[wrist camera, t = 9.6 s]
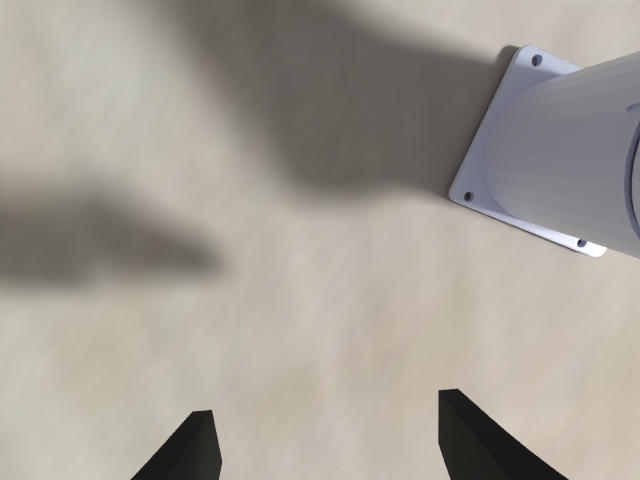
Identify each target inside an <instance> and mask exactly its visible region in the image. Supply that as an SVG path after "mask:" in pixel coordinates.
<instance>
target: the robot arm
mask: <svg viewBox="0 0 640 480" xmlns="http://www.w3.org/2000/svg"><path fill="white" fill-rule="evenodd" d="M533 57H535V58H536V59H537V65H536V66H534V65H532V62H531V61H532V58H533ZM467 192H470V194H471V196H470V199H469V200H467V201H465V199H464V195H465V194H466V193H467ZM449 197H450V199H451V200H452V201H454V202H457V203H459V204H462V205H464V206H467V207H469V208H471V209H474V210H476V211H479V212H481V213H484V214H486V215H489V216H491V217H494V218H496V219H499V220H501V221H504V222H506V223H509V224H511V225H514V226H516V227H518V228H521V229H523V230H526V231H528V232H531V233H533V234H536V235H538V236H541V237H543V238H546V239H548V240H551V241H553V242H556V243H558V244H560V245H563V246H565V247H568V248H570V249H573V250H575V251H578V252H580V253H583V254H585V255H588V256H590V257H594V258H596V257H599V256H601V255H602V254H603V253H604V252H605V250H606V249H607V248H609V249H612V250H615V251H618V252H621V253H624V254H627V255H630V256H633V257H636V258H639V259H640V52H636V53H633V54H630V55H627V56H623V57H620V58H617V59H614V60H610V61H607V62H604V63H601V64H598V65H594V66H591V67H588V68H585V69H581V68H579V67H577V66H575V65H573V64H571V63H568V62H566V61H564V60H562V59H560V58H558V57H556V56H554V55H552V54H549V53H547V52H545V51H543V50H541V49H539V48H537V47H535V46H532V45H525V46H523V47H521V48H520V49H518V50H517V51H516V53H515V54H514V56H513V58H512V60H511V62H510V65H509V67H508V69H507V71H506V73H505V75H504V77H503V79H502V81H501V83H500V85H499V87H498V89H497V92H496V94H495V96H494V98H493V100H492V102H491V104H490V106H489V108H488V110H487V112H486V114H485V116H484V119H483V121H482V123H481V125H480V127H479V129H478V131H477V133H476V135H475V137H474V139H473V141H472V144H471V146H470V148H469V150H468V152H467V154H466V156H465V158H464V160H463V162H462V164H461V166H460V168H459V171H458V173H457V175H456V177H455V179H454V181H453V183H452V185H451V187H450V189H449ZM580 239H581V243H580V244H579V245H577V243H578V241H579V240H580ZM438 443H439V446H440V450H441V453H442V456H443V459H444V462H445V465H446V467H447V470H448V473H449V476H450V479H451V480H569V479H567V478H566V477H564V476H563V475H562V474H560V473H559V472H557V471H556V470H555V469H553V468H552V467H551V466H549V465H548V464H547V463H545V462H544V461H543V460H541V459H540V458H539V457H538V456H536V455H535V454H534V453H532V452H531V451H530V450H528V449H527V448H526V447H525V446H523V445H522V444H521V443H520V442H519V441H517V440H516V439H515V438H514V437H513V436H511V435H510V434H509V433H508V432H507V431H505V430H504V429H503V428H502V427H501V426H500V425H498V424H497V423H496V422H495V421H494V420H493V419H491V418H490V417H489V416H488V415H487V414H486V413H485V412H484V411H482V410H481V409H480V408H479V407H478V406H477V405H476V404H475V403H473V402H472V401H471V400H470V399H469V398H468V397H467V396H466V395H464V394H463V393H462V392H461V391H460V390H459V389H449V390H439V421H438ZM221 466H222V458H221V453H220V448H219V443H218V438H217V433H216V428H215V423H214V418H213V413H212V410H206V411H194V412H192V413H191V414H190V415H189V416H188V417H187V418H186V420H185V421H184V422H183V423H182V424H181V425H180V426H179V427H178V428H177V430H176V431H175V432H174V433H173V434H172V435H171V436H170V437H169V439H168V440H167V441H166V442H165V443H164V444H163V445H162V446H161V448H160V449H159V450H158V451H157V452H156V453H155V454H154V455H153V456H152V457H151V458H150V460H149V461H148V462H147V463H146V464H145V465H144V466H143V467H142V468H141V469H140V470H139V471H138V473H137V474H136V475H135V476H134V477H133V478H132V479H131V480H219V476H220V471H221Z"/></svg>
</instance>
